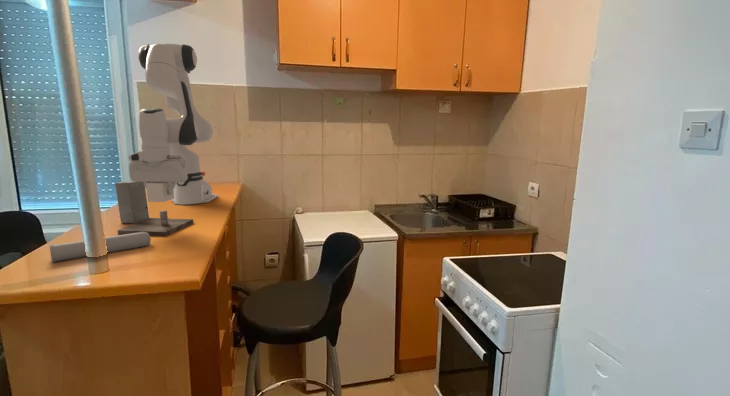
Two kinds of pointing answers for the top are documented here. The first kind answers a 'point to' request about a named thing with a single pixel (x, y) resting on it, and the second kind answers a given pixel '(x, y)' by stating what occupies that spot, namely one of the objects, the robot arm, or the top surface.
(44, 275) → the top surface
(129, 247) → the tube
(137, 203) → the skincare box
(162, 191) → the grey cube
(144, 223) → the peg board
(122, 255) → the top surface
